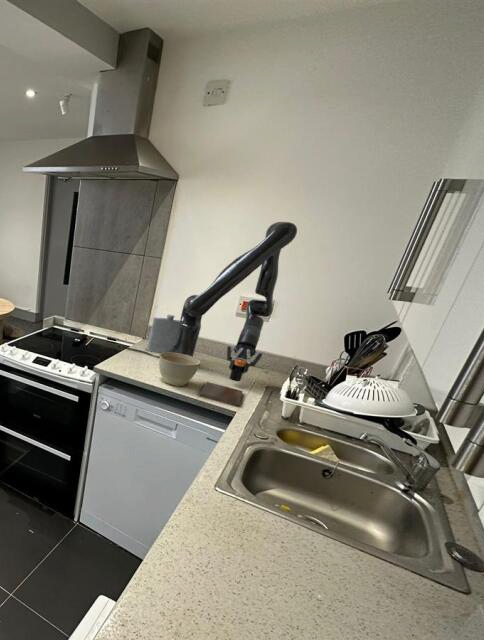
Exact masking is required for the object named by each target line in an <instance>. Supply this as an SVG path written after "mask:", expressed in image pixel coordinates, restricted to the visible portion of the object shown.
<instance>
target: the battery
mask: <svg viewBox="0 0 484 640" xmlns="http://www.w3.org/2000/svg"><path fill="white" fill-rule="evenodd" d="M246 363H247V361H246V359H243V358H238V359H235V362H234V365H233V368H232V370H230V374H229V377H228V378H229V380H231V381H233V382H241V380H242V377H243V374H244V373H243V371H244V368H245V366H246Z"/></svg>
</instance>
